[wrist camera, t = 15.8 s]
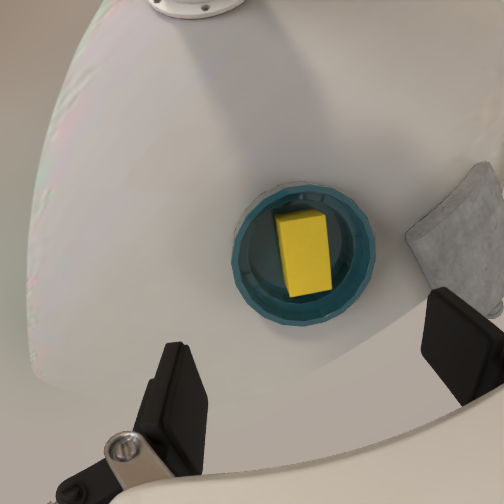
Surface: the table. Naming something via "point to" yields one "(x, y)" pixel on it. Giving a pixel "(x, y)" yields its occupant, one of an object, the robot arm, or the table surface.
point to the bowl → (269, 260)
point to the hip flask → (466, 242)
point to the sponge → (304, 251)
